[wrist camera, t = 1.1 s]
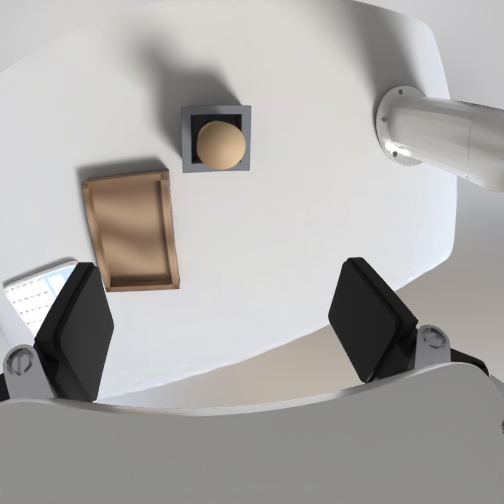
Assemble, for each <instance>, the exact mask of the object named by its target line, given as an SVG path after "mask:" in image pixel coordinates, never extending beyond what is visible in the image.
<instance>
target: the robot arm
mask: <svg viewBox="0 0 504 504" xmlns="http://www.w3.org/2000/svg"><path fill="white" fill-rule="evenodd" d="M376 129H377V135H378V138H379V141H380V144H381V146H382V148H383V150H384V151H385V153H386V154H387V155H388V156H389V157H390V158H391V159H392V160H393V161H395V162H397V163H399V164H402V165H404V166H415V165H418V164H420V163H422V162H425V163H428V164H431V165H433V166H436V167H438V168H441V169H443V170H446V171H448V172H451V173H453V174H455V175H458V176H460V177H462V178H464V179H467V180H469V181H471V182H473V183H475V184H477V185H479V186H481V187H484V188H486V189H488V190H490V191H493V192H504V110H502V109H498V108H493V107H488V106H484V105H479V104H473V103H468V102H462V101H455V100H448V99H440V98H430V97H426V96H425V95H424V94H423V93H422V92H421V91H420V90H418V89H416V88H414V87H410V86H397V87H394V88H392V89H390V90H389V91H388V92H387V93H386V94H385V95H384V96H383V98H382V99H381V101H380V103H379V106H378V110H377V115H376ZM328 318H329V322H330V324H331V325H332V327H333V329H334V331H335V333H336V335H337V336H338V338H339V340H340V342H341V344H342V346H343V348H344V349H345V351H346V353H347V355H348V357H349V359H350V361H351V363H352V365H353V366H354V368H355V370H356V372H357V374H358V376H359V378H360V380H361V381H362V382H365V384H363V385H359V386H355V387H351V388H347V389H343V390H339V391H334V392H329V393H325V394H320V395H314V396H309V397H304V398H298V399H292V400H285V401H279V402H271V403H263V404H254V405H244V406H232V407H218V408H186V409H185V408H179V409H178V408H144V407H130V406H118V405H106V404H98V403H92V402H93V401H95V400H96V399H97V396H98V391H99V386H100V381H101V377H102V372H103V368H104V364H105V360H106V356H107V352H108V348H109V345H110V341H111V337H112V334H113V330H114V322H113V319H112V315H111V312H110V309H109V305H108V302H107V299H106V295H105V291H104V288H103V284H102V280H101V276H100V272H99V268H98V267H97V266H94V264H93V263H92V262H79V263H78V264H77V265H76V266H75V268H74V270H73V271H72V273H71V274H70V276H69V277H68V279H67V281H66V282H65V284H64V285H63V287H62V289H61V290H60V292H59V294H58V296H57V297H56V299H55V301H54V302H53V304H52V306H51V308H50V310H49V311H48V313H47V315H46V317H45V319H44V321H43V323H42V325H41V327H40V328H39V330H38V332H37V334H36V336H35V339H34V340H35V343H34V345H33V347H32V346H30V345H26V344H25V345H19V346H16V347H14V348H13V349H11V350H10V351H9V352H8V353H7V355H6V357H5V358H4V362H3V371H4V373H2V374H0V504H504V383H502V382H501V381H500V380H498V379H497V378H495V377H494V376H492V375H490V376H489V373H488V369H487V367H486V365H485V364H484V362H483V361H481V360H479V359H477V358H474V357H472V356H469V355H467V354H464V353H461V352H459V351H456V350H454V349H452V348H450V342H449V338H448V337H447V335H446V334H445V333H444V332H443V331H442V330H441V329H439V328H438V327H435V326H433V325H423V326H421V327H420V328H419V329H418V330H417V328H416V325H417V323H418V320H417V319H416V317H415V316H414V315H413V314H412V312H411V311H410V310H409V309H408V308H407V306H406V305H405V304H404V303H403V302H402V301H401V300H400V299H399V297H398V296H397V295H396V294H395V293H394V291H393V290H392V289H391V288H390V287H389V286H388V285H387V283H386V282H385V281H384V280H383V279H382V278H381V277H380V276H379V275H378V274H377V272H376V271H375V270H374V269H373V268H372V267H371V266H370V265H369V264H368V263H367V262H366V261H365V259H364V258H362V257H355V258H348V259H347V261H345V262H344V263H343V265H342V269H341V273H340V276H339V280H338V283H337V287H336V290H335V294H334V297H333V300H332V304H331V307H330V310H329V314H328Z"/></svg>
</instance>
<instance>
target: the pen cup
mask: <svg viewBox="0 0 504 504" xmlns="http://www.w3.org/2000/svg"><path fill="white" fill-rule="evenodd" d="M212 120H217V121H221V122H225V123H228V124H231V125H233V126H235V127H237V128H238V129H239V130H240V131H241V133H242V134H243V136H244V139H245V144H246V147H245V152H244V155H243V157H242V159H241V160H240V161H239V162H238V163H237V164H236V165H234V166H233V167H231V168H228V169H224V170H217V169H213V168H210V167H208V166H207V165H205V164H204V163H203V162H202V161H201V159H200V158H199V156H198V153H197V140H198V134H199V130H200V128H201V127H202V126H203V125H204V124H205V123H206V122H208V121H212ZM181 128H182V165H183V173H192V172H212V171H250V138H251V106H247V105H213V106H188V107H181Z"/></svg>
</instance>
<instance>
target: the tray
mask: <svg viewBox="0 0 504 504" xmlns="http://www.w3.org/2000/svg"><path fill="white" fill-rule="evenodd" d="M82 190H83V196H84V202H85V208H86V213H87V218H88V223H89V228H90V232H91V237H92V241H93V245H94V249H95V253H96V257H97V261H98V265H99V268H100V272H101V275H102V279H103V282H104V285H105V289H106V292H126V291H149V290H168V289H179V285H180V279H179V271H178V264H177V256H176V247H175V238H174V229H173V219H172V207H171V195H170V181H169V170H159V171H148V172H139V173H130V174H121V175H113V176H106V177H99V178H92V179H87V180H86V181H84V182H83V183H82Z"/></svg>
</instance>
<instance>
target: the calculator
mask: <svg viewBox="0 0 504 504" xmlns="http://www.w3.org/2000/svg"><path fill="white" fill-rule="evenodd" d="M78 263H79V262H77V261H70V262H66V263H64V264H61V265H58V266H55V267H52V268H50V269H47V270H44V271H41V272H39V273H36V274H33V275H31V276H28V277H25V278H23V279H20V280H18V281H15V282H13V283H10V284H8V285H7V286H6V287H5V293H6V295H7V297H8V299H9V300H10V302H11V303H12V305H13V306H14V308H15V309H16V311H17V312H18V314H19V315H20V317H21V318H22V319H23V321H24V322H25V324H26V325H27V326H28V328H29V329H30V330H31V332H32V333H33V334H34V335H35V336H36V334H37V332H38V330H39V328H40V327H41V325H42V323H43V321H44V319H45V317H46V315H47V313H48V311H49V310H50V308H51V306H52V304H53V302H54V301H55V299H56V297H57V296H58V294H59V292H60V290H61V289H62V287H63V285H64V284H65V282H66V281H67V279H68V277H69V276H70V274H71V273H72V271H73V270H74V268H75V266H76V265H77V264H78ZM23 284H24V285H23Z"/></svg>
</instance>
